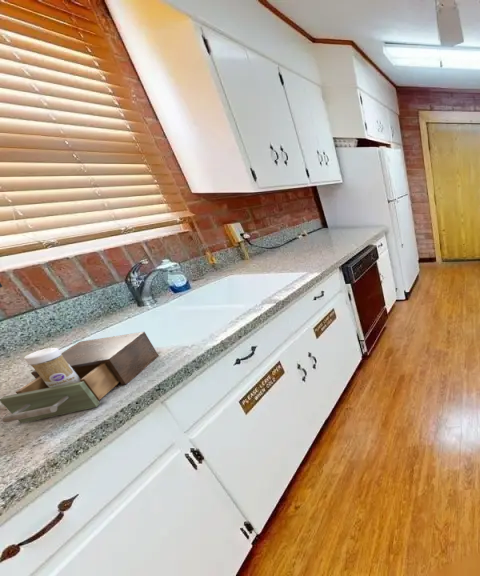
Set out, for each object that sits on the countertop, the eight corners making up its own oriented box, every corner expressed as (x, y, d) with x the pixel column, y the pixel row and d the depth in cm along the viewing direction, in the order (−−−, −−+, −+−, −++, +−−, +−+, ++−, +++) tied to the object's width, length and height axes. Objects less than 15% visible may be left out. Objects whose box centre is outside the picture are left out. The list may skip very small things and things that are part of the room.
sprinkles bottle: (64, 404, 72) (26, 359, 67) (57, 399, 74) (19, 355, 68) (94, 391, 76) (60, 348, 70) (86, 387, 77) (52, 345, 72)
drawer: (80, 422, 69) (61, 398, 66) (-3, 440, 64) (-27, 416, 61) (133, 373, 84) (119, 352, 81) (70, 385, 80) (53, 364, 77)
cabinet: (127, 385, 81) (108, 359, 77) (53, 400, 76) (30, 372, 72) (159, 355, 93) (144, 331, 89) (97, 366, 88) (79, 341, 84)
